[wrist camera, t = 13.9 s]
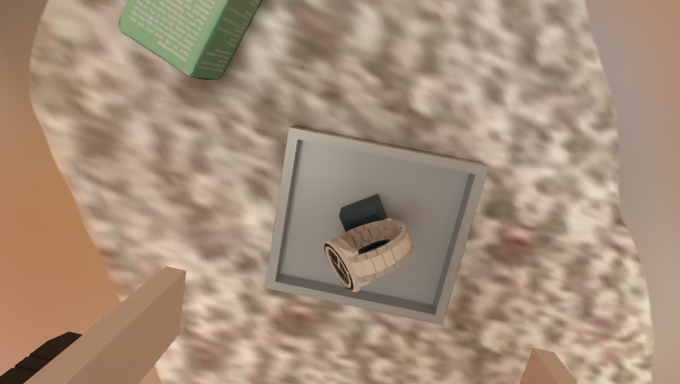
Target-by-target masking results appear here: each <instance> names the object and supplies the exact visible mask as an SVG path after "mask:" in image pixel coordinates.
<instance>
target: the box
mask: <svg viewBox="0 0 680 384" xmlns="http://www.w3.org/2000/svg"><path fill="white" fill-rule="evenodd" d="M260 2H261V0H128V2H127V4H126V6H125V9H124V11H123V14H122V16H121V18H120V21H119V30H120V31H121V33H123V34H125V35H126V36H128V37H130V38H131V39H133V40H134V41H136V42H138V43H139V44H141V45H142V46H143V47H145V48H146V49H148V50H149V51H151V52H152V53H154V54H155V55H157V56H159V57H160V58H162V59H163V60H165V61H166V62H168V63H169V64H171V65H172V66H174V67H175V68H177V69H178V70H180V71H181V72H183V73H184V74H186V75H187V76H190V77H193V78H198V79H204V80H213V79H219V78H220V77H221V76H222V75H223V73H224V71H225V69H226V67H227V65H228V64H229V62H230V60H231V58H232V56H233V54H234V52H235V50H236V48H237V46H238V44H239V42H240V41H241V39H242V37H243V35H244V33H245V31H246V29H247V27H248V25H249V23H250V21H251V19H252V17H253V15H254V13H255V12H256V10H257V8H258V6H259V4H260Z"/></svg>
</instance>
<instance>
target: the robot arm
mask: <svg viewBox="0 0 680 384" xmlns="http://www.w3.org/2000/svg"><path fill="white" fill-rule="evenodd" d="M185 277H186V271H185V270H180V269H176V268H171V267H167V266H166V267H165V268H164V269H162V270H161V271H160V272H159V273H158V274H156V275H155V276H154V277H153V278H151V279H150V280H149V281H148V282H147V283H145V284H144V285H143V286H142V287H140V288H139V289H138V290H137V291H136V292H134V293H133V294H132V295H131V296H130V297H128V298H127V299H126V300H125V301H123V302H122V303H121V304H120V305H119V306H117V307H116V308H115V309H114V310H112V311H111V312H110V313H109V314H108V315H106V316H105V317H104V318H103V319H102V320H100V321H99V322H98V323H97V324H95V325H94V326H93V327H92V328H91V329H89V330H88V331H87V332H86V333H85V334H84V335H81V334H77V333H72V332H67V333H65V334H63V335H60V336H58V337H56V338H53V339H51V340H49V341H47V342H46V343H44V344H43V345H42V346H40V347H39V348H38V349H36V350H35V351H34V352H33V353H31V354H30V356H29V357H26V358H24V359H23V360H22V361H20V362H19V363H18V364H16V365H15V367H14V368H11V369H10V370H8V371H7V372H6V373H5V374H3V375H2V376H0V384H139V383H140V382H141V381H142V379H143V378H144V377H145V376H146V374H147V373H148V372H149V371H150V369H151V368H152V367H153V366H154V365H155V363H156V362H157V361H158V360H159V358H160V357H161V356H162V355H163V353H164V352H165V351H166V350H167V348H168V347H169V346H170V345H171V343H172V342H173V341H174V340H175V339H176V337H177V336H178V335H179V330H180V321H181V312H182V303H183V294H184V285H185ZM520 384H577V382H576V381H575V380H574V378H573V377H572V376H571V374H570V373H569V372H568V370H567V369H566V368H565V366H564V365H563V364H562V362H561V361H560V360H559V358H558V357H557V356H556V354H555V353H554V352H550V351H546V350H541V349H537V348H533V350H532V353H531V356H530V358H529V361H528V363H527V366H526V368H525V371H524V374H523V376H522V379H521V381H520Z"/></svg>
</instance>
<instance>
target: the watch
mask: <svg viewBox="0 0 680 384" xmlns="http://www.w3.org/2000/svg"><path fill="white" fill-rule="evenodd" d="M339 218H340V220H341V223H342V225H343V227H344V229H345V232H346V233H344V234H342V235H340V236H339V237H335V238H333V239H332V240H330V241H327V242H325V243H324V251H325V254H326V257H327V260H328V262H329V264H330V266H331V268H332V270H333V271H334V273H335V275H336V276H337V278H338V279H339V280H340V282H341V283H342V284H343V285H344V286H345V287H346V288H347V289H348V290H350V291H353V292H357V291H359V290H360V287H362V286H365V285H368V284H369V283H371V280H373V279H375V278H379V277H381V276H384V275H386V274H388V273H390V272H392V271H393V270H395V268H398V267H399V266H401V265H402V264H403V262H405V261H406V260H407V259H408V258H409V256H410V255H411V254H412V251H413V241H412V238H411V236H410V233H409V231H408V229H407V226H406V224H405V223H403V222H401V221H399V220H395V219H391V218H388V217H387V215H386V212H385V210H384V207H383V205H382V202H381V200H380V198H379V195H378V194H376V195H373V196H370V197H368V198H365V199H363V200H360V201H357V202H355V203H352V204H350V205H347V206H344V207H342V208H341V210H340V214H339ZM371 259H372V260H371ZM383 259H384V260H383ZM373 264H374V265H373ZM374 266H375V267H374ZM386 266H387V267H386ZM384 270H385V271H384ZM385 272H386V273H385Z"/></svg>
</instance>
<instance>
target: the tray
mask: <svg viewBox="0 0 680 384" xmlns="http://www.w3.org/2000/svg"><path fill="white" fill-rule="evenodd" d="M487 170H488V166H486V165H485V164H483V163H481V162H476V161H471V160H466V159H461V158H456V157H451V156H446V155H441V154H435V153H430V152H425V151H420V150H415V149H410V148H405V147H400V146H395V145H390V144H385V143H380V142H375V141H369V140H364V139H359V138H354V137H349V136H344V135H339V134H334V133H329V132H324V131H319V130H314V129H309V128H303V127H298V126H292V127H289V132H288V139H287V145H286V152H285V159H284V165H283V172H282V178H281V185H280V192H279V198H278V205H277V211H276V218H275V225H274V231H273V238H272V244H271V251H270V258H269V264H268V271H267V277H266V284H265V288H268V289H273V290H277V291H282V292H287V293H292V294H297V295H301V296H306V297H311V298H316V299H321V300H326V301H330V302H335V303H340V304H345V305H350V306H355V307H359V308H364V309H369V310H374V311H379V312H384V313H388V314H393V315H398V316H403V317H408V318H413V319H417V320H422V321H427V322H432V323H437V324H441V325H442V323H443V319H444V316H445V313H446V309H447V306H448V302H449V299H450V296H451V292H452V289H453V285H454V282H455V279H456V275H457V272H458V268H459V265H460V262H461V258H462V255H463V252H464V248H465V245H466V241H467V238H468V235H469V231H470V228H471V224H472V221H473V218H474V214H475V211H476V207H477V204H478V201H479V197H480V194H481V191H482V187H483V184H484V180H485V177H486V174H487ZM376 194H378V195H379V198H380V200H381V202H382V205H383V207H384V210H385V212H386V215H387V217H388V218H391V219H395V220H399V221H401V222H403V223H405V224H406V226H407V229H408V231H409V233H410V236H411V238H412V241H413V251H412V254H411V255H410V256H409V258H408V259H407V260H406V261H405V262H403V264H402V265H401V266H399V267H398V268H395V270H393V271H392V272H390V273H388V274H386V275H384V276H381V277H379V278H375V279H373V280H371V283H369V284H368V285H365V286H362V287H360V290H359V291H357V292H353V291H350V290H348V289H347V288H346V287H345V286H344V285H343V284H342V283H341V282H340V280H339V279H338V278H337V276H336V275H335V273H334V271H333V270H332V268H331V266H330V264H329V262H328V260H327V257H326V254H325V251H324V243H325V242H327V241H330V240H332V239H333V238H335V237H339V236H340V235H342V234H344V233H346V232H345V229H344V227H343V225H342V223H341V220H340V218H339V214H340V210H341V208H342V207H344V206H347V205H350V204H352V203H355V202H357V201H360V200H363V199H365V198H368V197H370V196H373V195H376ZM371 260H372V259H371ZM383 260H384V259H383ZM373 265H374V264H373ZM374 267H375V266H374ZM386 267H387V266H386ZM384 271H385V270H384ZM385 273H386V272H385Z"/></svg>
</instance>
